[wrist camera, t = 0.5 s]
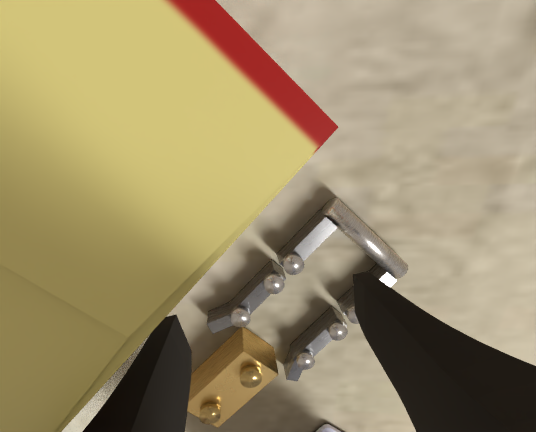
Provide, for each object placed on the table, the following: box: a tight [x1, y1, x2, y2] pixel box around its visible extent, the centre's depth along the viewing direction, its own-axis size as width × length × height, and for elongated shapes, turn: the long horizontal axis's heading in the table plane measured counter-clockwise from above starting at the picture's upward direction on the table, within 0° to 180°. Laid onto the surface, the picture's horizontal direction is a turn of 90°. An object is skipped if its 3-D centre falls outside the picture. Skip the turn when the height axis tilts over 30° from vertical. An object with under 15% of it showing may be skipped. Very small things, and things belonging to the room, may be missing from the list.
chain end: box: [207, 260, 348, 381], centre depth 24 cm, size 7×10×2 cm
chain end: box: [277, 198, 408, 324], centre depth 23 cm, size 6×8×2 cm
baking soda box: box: [0, 0, 338, 432], centre depth 12 cm, size 10×6×16 cm
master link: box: [187, 327, 278, 428], centre depth 24 cm, size 7×4×4 cm, turn 136°
